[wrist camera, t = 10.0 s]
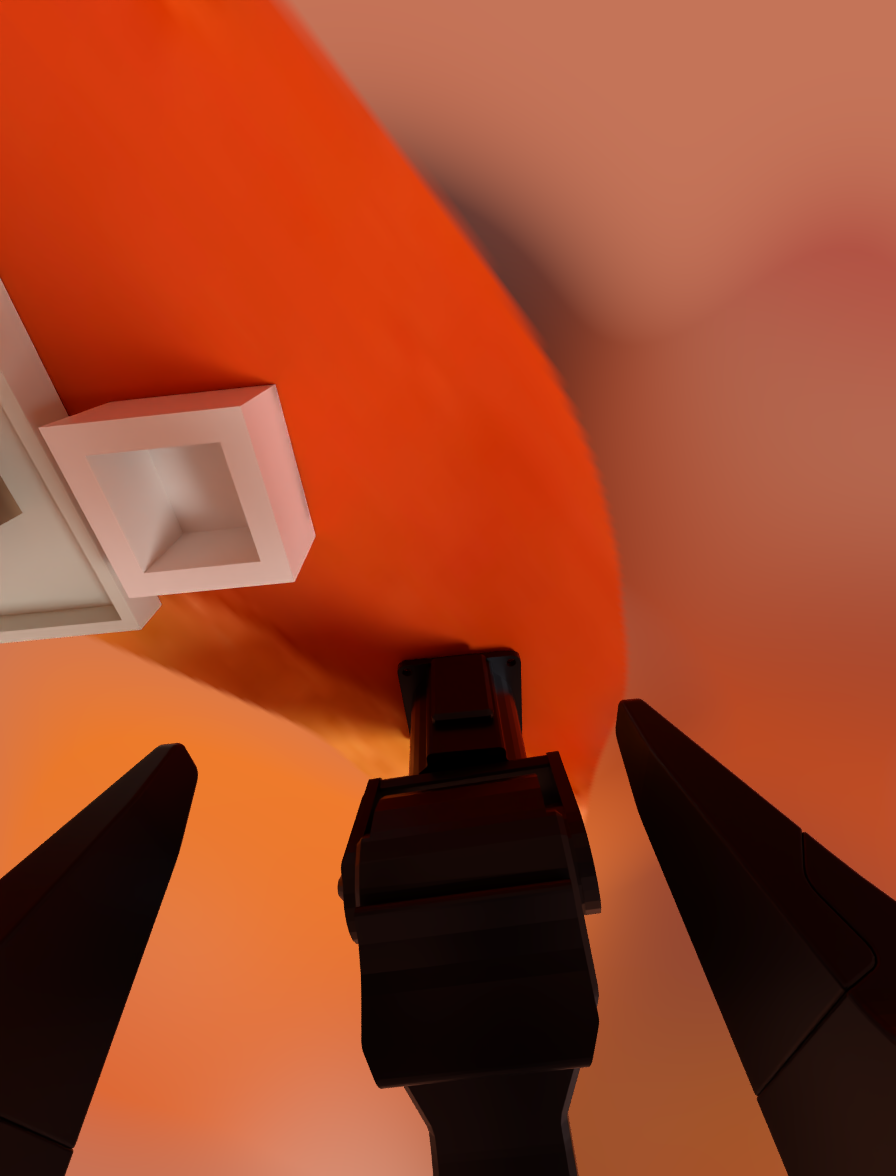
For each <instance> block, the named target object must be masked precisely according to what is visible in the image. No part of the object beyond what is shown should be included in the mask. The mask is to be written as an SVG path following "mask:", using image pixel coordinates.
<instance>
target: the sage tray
mask: <svg viewBox="0 0 896 1176" xmlns="http://www.w3.org/2000/svg"><path fill="white" fill-rule="evenodd" d="M67 417H69V416H68V414H67V412H66V410H65V408H64V406H63V404H62V402H61V400H60V398H59V396H58V394H57V392H56V390H55V388H54V386H53V384H52V382H51V380H50V378H49V376H48V374H47V372H46V370H45V367H44V365H43V363H42V361H41V359H40V357H39V355H38V353H37V351H36V349H35V347H34V345H33V343H32V341H31V339H30V337H29V335H28V333H27V331H26V329H25V327H24V325H23V323H22V321H21V319H20V317H19V315H18V313H17V311H16V309H15V307H14V305H13V303H12V301H11V299H10V297H9V295H8V293H7V291H6V289H5V287H4V285H3V283H2V281H1V279H0V476H1V477H2V479H3V481H4V482H5V484H6V486H7V488H8V489H9V491H10V493H11V494H12V496H13V498H14V499H15V501H16V503H17V504H18V506H19V508H20V509H21V511H22V514H20V515H18V516H17V517H15V518H13V519H11V520H9V521H8V522H6V523H4V524H2V525H0V643H9V642H19V641H30V640H39V639H50V638H61V637H71V636H81V635H91V634H102V633H112V632H122V631H132V630H141V629H142V628H143V627H144V626H145V624H146V623H147V622H148V621H149V620H150V619H151V617H152V616H153V615H154V614H155V613H156V611H157V610H158V609H159V608H160V607H161V605H162V604H161V602H160V600H159V598H158V596H147V597H137V598H129V597H128V595H127V593H126V591H125V589H124V587H123V586H122V584H121V582H120V580H119V578H118V576H117V574H116V573H115V571H114V569H113V567H112V565H111V563H110V561H109V559H108V558H107V556H106V554H105V552H104V550H103V548H102V546H101V544H100V543H99V541H98V539H97V537H96V535H95V533H94V531H93V529H92V528H91V526H90V524H89V522H88V520H87V518H86V516H85V514H84V513H83V511H82V509H81V507H80V505H79V503H78V501H77V500H76V498H75V496H74V494H73V492H72V490H71V488H70V486H69V485H68V483H67V481H66V479H65V477H64V475H63V473H62V471H61V470H60V468H59V466H58V464H57V462H56V460H55V458H54V456H53V455H52V453H51V451H50V449H49V447H48V445H47V443H46V442H45V440H44V438H43V436H42V434H41V432H40V430H39V427H42V426H44V425H47V424H50V423H53V422H56V421H58V420H61V419H64V418H67Z"/></svg>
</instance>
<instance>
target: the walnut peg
mask: <svg viewBox="0 0 896 1176" xmlns="http://www.w3.org/2000/svg"><path fill="white" fill-rule="evenodd" d="M20 514H22V511H21V509H20V508H19V506H18V504H17V503H16V501H15V499H14V498H13V496H12V494H11V493H10V491H9V489H8V488H7V486H6V484H5V482H4V481H3V479H2V477H1V476H0V525H2V524H4V523H6V522H8V521H9V520H11V519H13V518H15V517H17V516H18V515H20Z"/></svg>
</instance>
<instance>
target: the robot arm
mask: <svg viewBox="0 0 896 1176" xmlns="http://www.w3.org/2000/svg"><path fill="white" fill-rule="evenodd" d="M509 659H514V660H513V661H508V660H509ZM405 669H410V671H405ZM398 677H399V682H400V687H401V692H402V697H403V702H404V707H405V712H406V717H407V722H408V727H409V733H410V761H409V776H403V777H397V778H390V779H384V780H382V779H381V778H376V779H369V781H368V784H367V787H366V790H365V793H364V795H363V797H362V800H361V803H360V806H359V810H358V813H357V816H356V819H355V822H354V825H353V828H352V831H351V834H350V838H349V841H348V844H347V847H346V850H345V853H344V857H343V860H342V864H341V874H342V875H341V877H340V879H339V881H338V894H339V896H340V898H341V899H342V900H343V901H344V910H345V917H346V922H347V926H348V930H349V933H350V935H351V938H352V940H353V941H354V942H355V943H356V944H359V956H360V969H361V997H362V998H361V1007H362V1008H361V1011H362V1012H361V1015H362V1016H361V1024H362V1025H361V1030H362V1031H361V1032H362V1033H361V1036H362V1037H361V1043H362V1049H363V1053H364V1055H365V1058H366V1060H367V1063H368V1065H369V1068H370V1070H371V1073H372V1075H373V1078H374V1080H375V1082H376V1084H377V1086H378V1087H379V1088H381V1089H383V1088H392V1087H402V1086H404V1088H405V1090H406V1091H407V1093H408V1095H409V1097H410V1098H411V1100H412V1102H413V1103H414V1105H415V1107H416V1108H417V1110H418V1112H419V1113H420V1115H421V1117H422V1119H423V1120H424V1122H425V1124H426V1125H427V1128H428V1131H429V1136H430V1145H431V1154H432V1166H433V1176H579V1175H578V1169H577V1163H576V1157H575V1151H574V1146H573V1140H572V1134H571V1129H570V1122H569V1116H568V1110H569V1106H570V1103H571V1099H572V1095H573V1092H574V1088H575V1084H576V1081H577V1077H578V1074H579V1070H580V1068H583V1067H589V1066H590V1065H591V1063H592V1060H593V1054H594V1049H595V1044H596V1038H597V1033H598V1026H599V1017H598V1012H597V1004H598V997H599V992H598V984H597V979H596V974H595V969H594V964H593V959H592V954H591V949H590V944H589V939H588V934H587V929H586V924H585V919H584V915H589V914H596V913H601V902H600V901H601V900H600V894H599V888H598V882H597V877H596V872H595V867H594V862H593V858H592V853H591V849H590V845H589V841H588V837H587V833H586V830H585V826H584V823H583V820H582V817H581V813H580V810H579V808H578V805H577V802H576V799H575V796H574V794H573V791H572V788H571V785H570V782H569V780H568V777H567V774H566V771H565V768H564V766H563V763H562V760H561V757H560V754H559V752H558V751H555V752H548V753H546V755H543V756H536V757H530V758H527V757H526V752H525V747H524V743H523V738H522V699H521V661H520V657H519V654H518V653H517V652H515V651H500V652H489V653H479V654H468V655H458V656H447V657H437V658H426V659H415V660H406V661H402V662H401V663H400V664H399V665H398ZM616 737H617V741H618V744H619V748H620V752H621V755H622V758H623V762H624V765H625V769H626V772H627V776H628V779H629V782H630V786H631V789H632V793H633V796H634V799H635V803H636V806H637V809H638V812H639V815H640V818H641V820H642V823H643V825H644V827H645V830H646V832H647V835H648V837H649V840H650V842H651V845H652V847H653V849H654V852H655V854H656V856H657V859H658V861H659V864H660V866H661V869H662V871H663V873H664V876H665V878H666V881H667V883H668V886H669V888H670V890H671V893H672V895H673V898H674V899H675V902H676V905H677V907H678V910H679V912H680V915H681V917H682V919H683V922H684V924H685V927H686V929H687V931H688V934H689V936H690V939H691V941H692V943H693V946H694V948H695V951H696V953H697V955H698V958H699V960H700V963H701V965H702V967H703V970H704V972H705V975H706V977H707V980H708V982H709V985H710V987H711V989H712V992H713V994H714V997H715V999H716V1001H717V1004H718V1006H719V1009H720V1011H721V1013H722V1016H723V1018H724V1021H725V1023H726V1025H727V1028H728V1030H729V1033H730V1035H731V1038H732V1040H733V1042H734V1045H735V1047H736V1050H737V1052H738V1054H739V1057H740V1059H741V1062H742V1064H743V1067H744V1069H745V1071H746V1074H747V1076H748V1078H749V1081H750V1083H751V1086H752V1088H753V1091H754V1093H755V1095H757V1096H758V1097H757V1101H758V1103H759V1106H760V1108H761V1111H762V1113H763V1115H764V1118H765V1120H766V1123H767V1125H768V1128H769V1130H770V1132H771V1135H772V1137H773V1140H774V1142H775V1144H776V1147H777V1149H778V1152H779V1154H780V1156H781V1159H782V1161H783V1164H784V1166H785V1169H786V1171H787V1173H788V1176H896V901H895V900H894V899H892V898H891V897H889V896H888V895H887V894H885V893H884V892H883V891H881V890H880V889H878V888H877V887H876V886H874V885H873V884H872V883H870V882H869V881H867V880H866V879H865V878H863V877H862V876H860V875H859V874H858V873H857V872H856V871H854V870H853V869H852V868H850V867H849V866H848V865H846V864H845V863H844V862H843V861H841V860H840V859H839V858H837V857H836V856H835V855H834V854H832V853H831V852H830V851H829V850H827V849H826V848H825V847H824V846H822V845H821V844H820V843H819V842H817V841H816V840H815V839H814V838H813V837H811V836H810V835H809V834H808V833H806V832H803V833H802V829H801V828H800V827H799V826H797V825H796V824H795V823H794V822H793V821H791V820H790V819H789V818H787V817H786V816H785V815H784V814H783V813H781V812H780V811H779V810H778V809H777V808H775V807H774V806H773V805H771V804H770V803H769V802H768V801H767V800H765V799H764V798H763V797H762V796H760V795H759V794H758V793H757V792H756V791H754V790H753V789H752V788H750V787H749V786H748V785H747V784H746V783H744V782H743V781H742V780H741V779H739V778H738V777H737V776H736V775H735V774H733V773H732V772H731V771H730V770H728V769H727V768H726V767H725V766H723V765H722V764H721V763H720V762H718V761H717V760H716V759H715V758H714V757H712V756H711V755H710V754H709V753H707V752H706V751H705V750H704V749H702V748H701V747H700V746H699V745H698V744H696V743H695V742H694V741H693V740H691V739H690V738H689V737H688V736H686V735H685V734H684V733H683V732H681V731H680V730H679V729H678V728H677V727H675V726H674V725H673V724H672V723H670V722H669V721H668V720H666V719H665V718H664V717H663V716H662V715H661V714H659V713H658V712H657V711H656V710H654V709H653V708H652V707H651V706H649V705H648V704H647V703H646V702H644V701H643V700H641V699H627V700H622V701H620V703H619V705H618V712H617V721H616ZM197 779H198V771H197V767H196V765H195V764H194V762H193V760H192V758H191V757H190V755H189V753H188V752H187V750H186V748H185V747H184V745H182V744H180V743H174V744H164V745H160V746H158V747H157V748H155V749H154V750H153V751H152V752H151V753H150V754H148V755H147V756H146V757H145V758H144V759H142V760H141V761H140V762H139V763H138V764H136V765H135V766H134V767H133V768H132V769H130V770H129V771H128V772H127V773H126V774H125V775H123V776H122V777H121V778H120V779H119V780H117V781H116V782H115V783H114V784H113V785H111V786H110V787H109V788H108V789H107V790H106V791H104V792H103V793H102V794H101V795H100V796H98V797H97V798H96V799H95V800H94V801H92V802H91V803H90V804H89V805H88V806H87V807H85V808H84V809H83V810H82V811H81V812H79V813H78V814H77V815H76V816H75V817H74V818H72V819H71V820H70V821H69V822H68V823H66V824H65V825H64V826H63V827H62V828H60V829H59V830H58V831H57V832H56V833H55V834H53V835H52V836H51V837H50V838H49V839H48V840H46V841H45V842H44V843H43V844H41V845H40V846H39V847H38V848H37V849H36V850H34V851H33V852H32V853H31V854H30V855H28V856H27V857H26V858H25V859H24V860H22V861H21V862H20V863H19V864H18V865H17V866H16V867H14V868H13V869H12V870H11V871H9V872H8V873H7V874H6V875H5V876H3V877H2V878H1V879H0V1176H65V1174H66V1170H67V1168H68V1165H69V1162H70V1160H71V1157H72V1154H73V1149H72V1148H74V1146H75V1144H76V1142H77V1139H78V1136H79V1133H80V1130H81V1127H82V1124H83V1122H84V1119H85V1116H86V1114H87V1111H88V1108H89V1105H90V1102H91V1100H92V1097H93V1094H94V1091H95V1088H96V1085H97V1083H98V1080H99V1077H100V1074H101V1071H102V1069H103V1066H104V1063H105V1060H106V1057H107V1055H108V1052H109V1049H110V1046H111V1043H112V1041H113V1038H114V1035H115V1032H116V1029H117V1026H118V1024H119V1021H120V1018H121V1015H122V1012H123V1010H124V1007H125V1004H126V1001H127V998H128V995H129V993H130V990H131V987H132V984H133V981H134V979H135V976H136V973H137V970H138V967H139V964H140V962H141V959H142V956H143V954H144V950H145V948H146V945H147V942H148V939H149V937H150V934H151V931H152V928H153V925H154V923H155V919H156V917H157V914H158V911H159V909H160V906H161V903H162V900H163V897H164V895H165V891H166V889H167V886H168V883H169V880H170V878H171V875H172V872H173V869H174V866H175V863H176V860H177V857H178V854H179V851H180V847H181V844H182V840H183V836H184V832H185V828H186V824H187V820H188V816H189V812H190V808H191V804H192V800H193V796H194V792H195V788H196V783H197Z"/></svg>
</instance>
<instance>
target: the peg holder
mask: <svg viewBox="0 0 896 1176" xmlns="http://www.w3.org/2000/svg"><path fill="white" fill-rule="evenodd" d="M39 430H40V432H41V434H42V436H43V438H44V440H45V442H46V443H47V445H48V447H49V449H50V451H51V453H52V455H53V456H54V458H55V460H56V462H57V464H58V466H59V468H60V470H61V471H62V473H63V475H64V477H65V479H66V481H67V483H68V485H69V486H70V488H71V490H72V492H73V494H74V496H75V498H76V500H77V501H78V503H79V505H80V507H81V509H82V511H83V513H84V514H85V516H86V518H87V520H88V522H89V524H90V526H91V528H92V529H93V531H94V533H95V535H96V537H97V539H98V541H99V543H100V544H101V546H102V548H103V550H104V552H105V554H106V556H107V558H108V559H109V561H110V563H111V565H112V567H113V569H114V571H115V573H116V574H117V576H118V578H119V580H120V582H121V584H122V586H123V587H124V589H125V591H126V593H127V595H128V597H129V598H137V597H147V596H157V595H167V594H177V593H188V592H198V591H208V590H218V589H228V588H238V587H248V586H258V585H268V584H278V583H288V582H295V580H296V578H297V576H298V573H299V571H300V569H301V567H302V565H303V562H304V560H305V558H306V556H307V554H308V551H309V549H310V547H311V545H312V543H313V540H314V538H315V532H314V528H313V524H312V520H311V517H310V513H309V509H308V505H307V502H306V498H305V494H304V490H303V487H302V483H301V479H300V475H299V472H298V468H297V464H296V460H295V457H294V453H293V449H292V445H291V442H290V438H289V434H288V430H287V426H286V423H285V419H284V415H283V411H282V408H281V404H280V400H279V396H278V393H277V389H276V385H275V384H272V385H263V386H253V387H244V388H235V389H226V390H216V391H207V392H198V393H189V394H179V395H170V396H161V397H151V398H142V399H133V400H124V401H114V402H109V403H106V404H103V405H100V406H97V407H95V408H92V409H89V410H86V411H83V412H81V413H78V414H75V415H72V416H69V417H67V418H64V419H61V420H58V421H56V422H53V423H50V424H47V425H44V426H42V427H39Z"/></svg>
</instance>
